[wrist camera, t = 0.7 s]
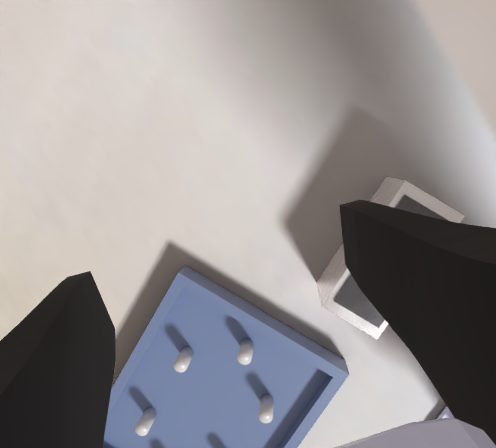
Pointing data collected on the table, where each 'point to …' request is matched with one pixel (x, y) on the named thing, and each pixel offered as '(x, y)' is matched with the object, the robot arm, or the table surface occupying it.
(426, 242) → the robot arm
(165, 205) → the table surface
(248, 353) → the pin tray
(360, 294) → the block
